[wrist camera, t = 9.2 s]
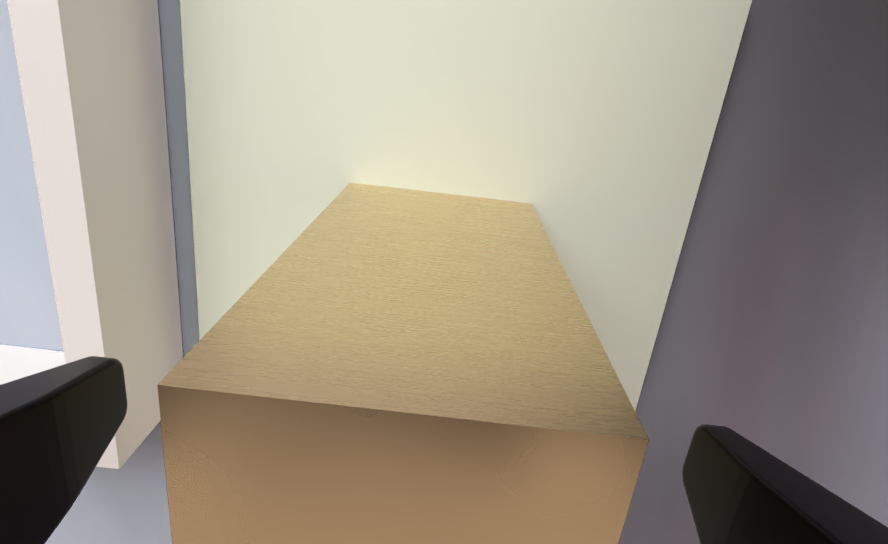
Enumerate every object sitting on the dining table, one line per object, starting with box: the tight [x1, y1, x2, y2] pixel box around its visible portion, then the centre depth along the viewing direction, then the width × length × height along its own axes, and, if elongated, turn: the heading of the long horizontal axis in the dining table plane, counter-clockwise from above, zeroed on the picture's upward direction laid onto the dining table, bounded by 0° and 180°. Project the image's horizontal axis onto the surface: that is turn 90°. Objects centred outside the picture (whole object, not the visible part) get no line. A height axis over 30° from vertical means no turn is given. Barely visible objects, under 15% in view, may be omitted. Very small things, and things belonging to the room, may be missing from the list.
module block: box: [157, 182, 649, 544], centre depth 9 cm, size 4×5×8 cm
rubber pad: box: [180, 0, 752, 410], centre depth 13 cm, size 11×14×1 cm
